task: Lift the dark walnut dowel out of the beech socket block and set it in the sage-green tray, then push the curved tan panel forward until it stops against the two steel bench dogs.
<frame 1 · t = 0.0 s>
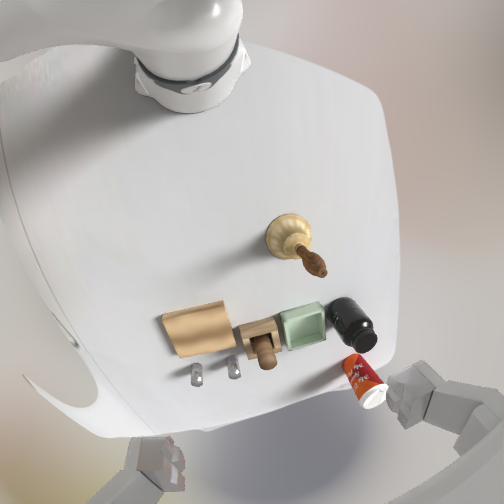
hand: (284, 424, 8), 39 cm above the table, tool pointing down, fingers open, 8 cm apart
socket block: (259, 334, 54), on the table
hand bell: (288, 236, 48), on the table
bench dogs: (214, 363, 55), on the table
curved tan panel: (200, 326, 52), on the table
paper cup: (351, 361, 62), on the table
supplement bottle: (340, 309, 55), on the table
dowel: (263, 348, 50), in the socket block
tray: (301, 322, 55), on the table
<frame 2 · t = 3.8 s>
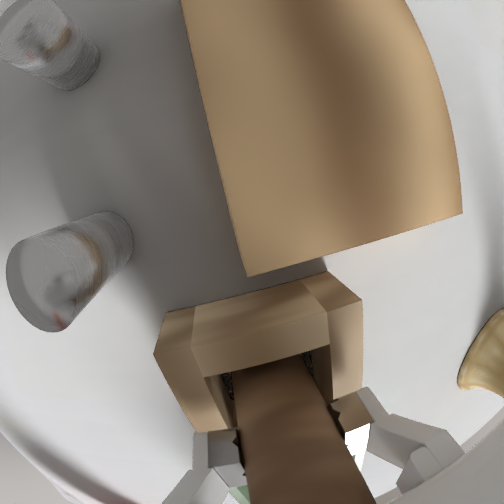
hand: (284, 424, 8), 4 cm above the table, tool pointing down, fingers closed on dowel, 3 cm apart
socket block: (264, 359, 12), on the table
hand bell: (484, 349, 16), on the table
bench dogs: (83, 146, 9), on the table
curved tan panel: (322, 93, 10), on the table
dowel: (286, 432, 8), in the socket block, touching gripper
tray: (289, 451, 14), on the table
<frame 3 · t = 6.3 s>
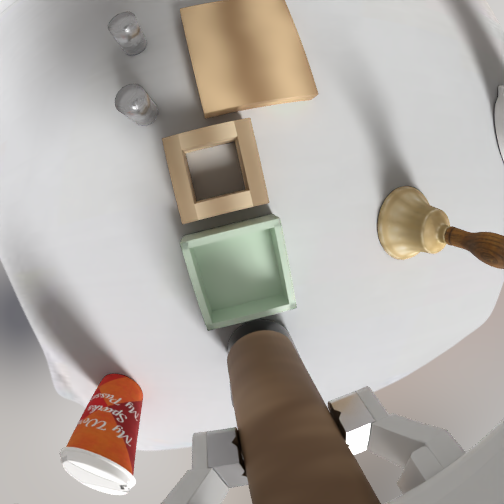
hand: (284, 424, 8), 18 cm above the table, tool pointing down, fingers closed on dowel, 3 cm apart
socket block: (215, 170, 23), on the table
hand bell: (404, 222, 27), on the table
bench dogs: (139, 77, 20), on the table
curved tan panel: (243, 54, 21), on the table
paper cup: (121, 388, 28), on the table
supplement bottle: (258, 343, 28), on the table
dowel: (286, 431, 8), point 18 cm above the table, touching gripper
tray: (238, 267, 25), on the table
when the fingers open (6 cm above the table, at t = 8.7 s): dowel stays where it is, resting on tray.
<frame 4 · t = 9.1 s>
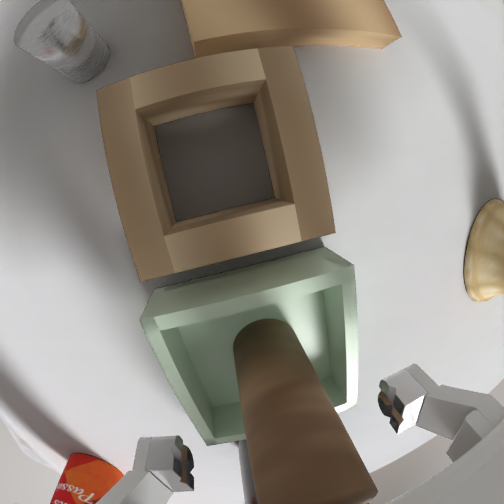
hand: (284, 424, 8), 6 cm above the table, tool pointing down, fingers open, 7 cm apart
socket block: (214, 160, 11), on the table
hand bell: (489, 250, 15), on the table
bench dogs: (88, 10, 8), on the table
paper cup: (96, 467, 16), on the table
supplement bottle: (283, 433, 16), on the table
dowel: (286, 411, 9), in the tray, point 5 cm above the table
tray: (258, 341, 13), on the table
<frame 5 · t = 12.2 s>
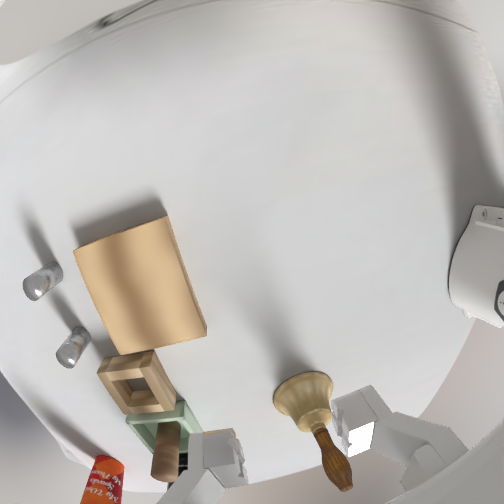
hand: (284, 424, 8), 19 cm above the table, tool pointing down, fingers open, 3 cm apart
socket block: (140, 377, 28), on the table
hand bell: (303, 393, 32), on the table
bench dogs: (67, 305, 25), on the table
curved tan panel: (142, 285, 26), on the table
paper cup: (110, 462, 33), on the table
supplement bottle: (191, 452, 34), on the table
dowel: (166, 449, 26), in the tray, point 5 cm above the table
tray: (168, 422, 31), on the table
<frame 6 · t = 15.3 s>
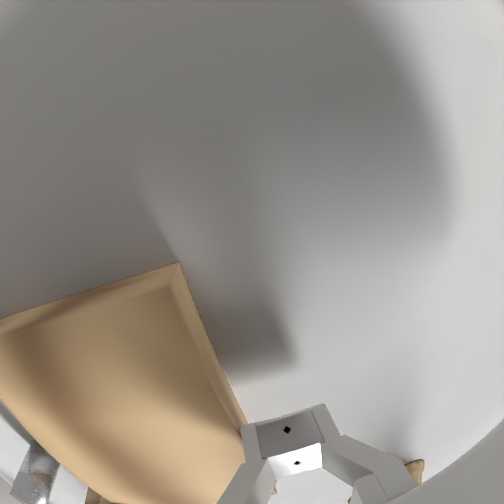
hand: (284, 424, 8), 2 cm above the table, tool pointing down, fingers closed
hand bell: (386, 483, 16), on the table
bench dogs: (9, 411, 9), on the table
curved tan panel: (130, 412, 10), on the table, touching gripper
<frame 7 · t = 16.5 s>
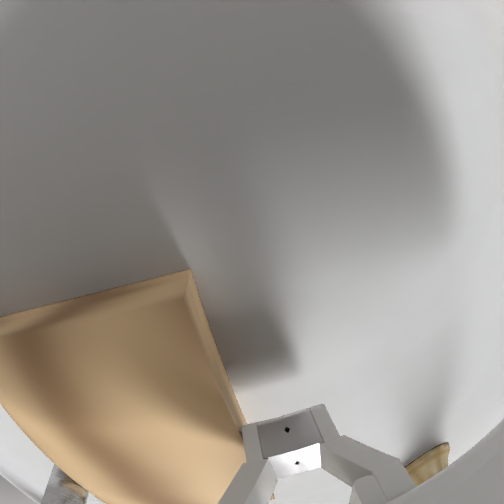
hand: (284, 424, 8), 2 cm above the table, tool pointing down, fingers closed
hand bell: (414, 468, 16), on the table
bench dogs: (36, 417, 9), on the table
curved tan panel: (130, 416, 9), on the table, touching gripper
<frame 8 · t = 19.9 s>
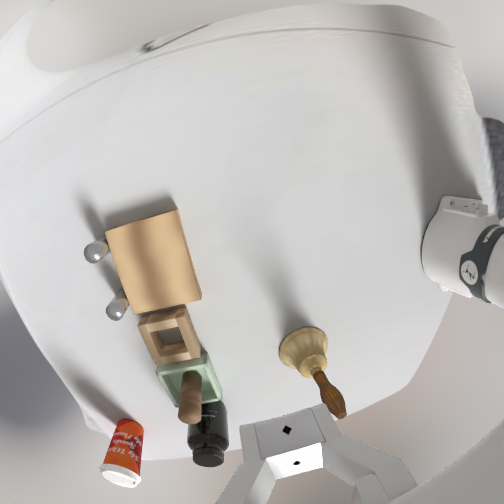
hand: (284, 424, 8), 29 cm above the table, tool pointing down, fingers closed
socket block: (171, 331, 38), on the table
hand bell: (303, 347, 42), on the table
bench dogs: (115, 271, 35), on the table
curved tan panel: (155, 260, 36), on the table
paper cup: (130, 426, 43), on the table
supplement bottle: (207, 408, 43), on the table
dowel: (190, 396, 36), in the tray, point 5 cm above the table
tray: (190, 375, 41), on the table
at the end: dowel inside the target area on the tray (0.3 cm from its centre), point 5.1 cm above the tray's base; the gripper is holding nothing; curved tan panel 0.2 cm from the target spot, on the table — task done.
